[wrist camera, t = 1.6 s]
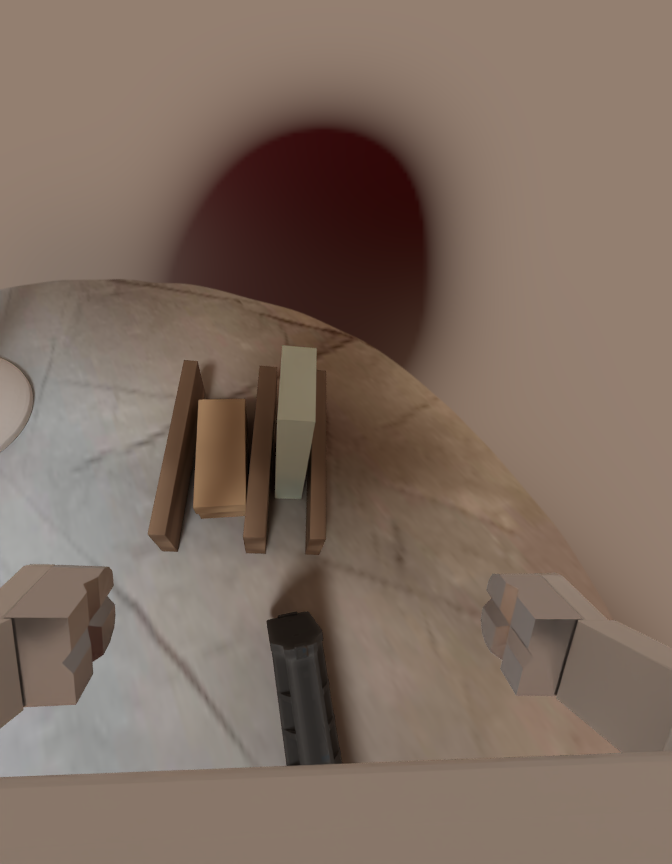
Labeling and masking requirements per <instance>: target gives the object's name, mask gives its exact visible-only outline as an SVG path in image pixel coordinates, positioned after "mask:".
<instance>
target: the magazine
mask: <svg viewBox="0 0 672 864" xmlns="http://www.w3.org/2000/svg"><path fill="white" fill-rule="evenodd" d="M267 628H268V634H269V641H270V647H271V651H272V657H273V664H274V672H275V680H276V687H277V695H278V703H279V711H280V718H281V726H282V734H283V741H284V749H285V757H286V765H287V766H298V765H323V764H342V761H341V752H340V748H339V743H338V737H337V731H336V725H335V716H334V713H333V707H332V701H331V695H330V689H329V680H328V676H327V670H326V664H325V657H324V651H323V645H322V641H323V634H322V630H321V628H320V627H319V626H318V624H317V623H316V621H315V620H314V619H313V617H312V616H311V614H310V613H309V612H302V613H297V612H293V613H288V614H283V615H279V616H278V618H275V619H270V620H267Z"/></svg>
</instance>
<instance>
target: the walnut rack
mask: <svg viewBox="0 0 672 864" xmlns="http://www.w3.org/2000/svg"><path fill="white" fill-rule="evenodd" d="M204 394H205V391H204V387H203V382H202V378H201V374H200V369H199V365H198V361H188V360H184V363H183V367H182V372H181V377H180V382H179V387H178V391H177V396H176V401H175V406H174V410H173V415H172V420H171V425H170V430H169V434H168V439H167V444H166V449H165V453H164V458H163V463H162V468H161V473H160V477H159V482H158V487H157V492H156V496H155V501H154V506H153V511H152V516H151V520H150V525H149V530H148V535H149V537H150V538H151V539H152V540H153V541H154V542H155V543H156V544H157V546H158V547H159V548H160V549H161V550H162V551H174V552H178V546H179V540H180V535H181V529H182V523H183V517H184V511H185V505H186V500H187V494H188V488H189V482H190V476H191V470H192V464H193V459H194V453H195V447H196V441H197V421H198V401H199V400H203V399H204ZM276 394H277V367H268V366H260V369H259V379H258V389H257V399H256V410H255V420H254V430H253V440H252V450H251V461H250V471H249V481H248V491H247V501H246V512H245V522H244V532H243V539H244V544H245V550H246V553H263V554H265V551H266V537H267V523H268V509H269V495H270V481H271V467H272V452H273V438H274V424H275V410H276ZM325 540H326V371H321V370H316V417H315V427H314V432H313V438H312V443H311V449H310V454H309V459H308V468H307V507H306V547H305V554H307V555H319V554H320V552H321V549H322V547H323V545H324V542H325Z"/></svg>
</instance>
